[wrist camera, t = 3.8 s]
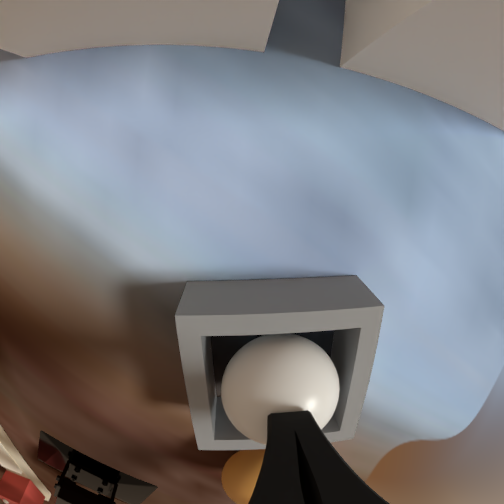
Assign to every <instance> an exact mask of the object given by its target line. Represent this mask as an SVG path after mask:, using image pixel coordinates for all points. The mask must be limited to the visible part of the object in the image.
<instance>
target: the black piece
mask: <svg viewBox="0 0 504 504" xmlns="http://www.w3.org/2000/svg"><path fill="white" fill-rule="evenodd" d="M38 460H40V461H42V462H43V463H45V464H47V465H48V466H50V467H52V468H53V469H55V470H57V471H59V472H61V473H62V474H61V476H59V475H58V476H57V478H56V480H57V481H58V484H55V486H54V488H55V489H56V490H55V494H54V496H55V497H56V501H55V504H116V503H115V502H114V498H115V499H117V500H120V501H122V502H125V503H127V504H140V503H142V502H143V501H144V500H145V499H146V498H147V497H148V496H149V495H150V494H151V493H152V492H153V491H154V490H156V489H157V488H158V487H157V486H155V485H152V484H150V483H147V482H144V481H142V480H139V479H137V478H134V477H132V476H129V475H127V474H125V473H122V472H120V471H118V470H115V469H113V468H111V467H109V466H107V465H104V464H102V463H100V462H98V461H96V460H94V459H92V458H90V457H88V456H86V455H84V454H82V453H80V452H78V451H76V450H75V449H73V448H71V447H69V446H67V445H65V444H64V443H62V442H60V441H58V440H57V439H55V438H53V437H52V436H50V435H48V434H47V433H45V432H43V431H41V432H40V440H39V448H38ZM66 476H67V477H69V478H70V479H71V480H70V479H68V478H66ZM74 481H75V482H74ZM76 482H78V483H80V484H82V485H84V486H86V487H88V488H91V489H93V490H95V491H97V493H99V494H98V495H97V494H94V493H92V492H90V491H88V490H86V489H84V488H82V487H80V486H78V485H76ZM101 494H104V495H106V496H103V495H101Z"/></svg>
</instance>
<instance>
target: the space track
mask: <svg viewBox="0 0 504 504" xmlns="http://www.w3.org/2000/svg"><path fill="white" fill-rule="evenodd" d="M0 465H1V466H3V467H5V468H6V471H5V473H4V475H3V477H2V479H1V481H0V499H1V500H2V501H3V502H4V503H5V504H43V501H44V500H47V501H49V499H50V496H51V493H50V492H49V491H48V490H47V489H46V487H45V486H44V485H43V484H42V483H41V481H40V480H39V479H38V478H37V476H36V475H35V474H34V472H33V471H32V470H31V469H30V467H29V466H28V465H27V463H26V462H25V461H24V459H23V458H22V456H21V455H20V454H19V452H18V451H17V449H16V448H15V446H14V445H13V444H12V442H11V441H10V439H9V438H8V436H7V434H6V433H5V431H4V430H3V428H2V427H1V425H0Z"/></svg>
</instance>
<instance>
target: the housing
mask: <svg viewBox="0 0 504 504" xmlns="http://www.w3.org/2000/svg"><path fill="white" fill-rule="evenodd" d="M383 310H384V305H383V304H382V303H381V302H380V300H379V299H378V298H377V297H376V296H375V295H374V294H373V293H372V292H371V291H370V289H369V288H368V287H367V286H366V285H365V284H364V283H363V282H362V281H361V280H360V279H359V278H358V276H357V275H356V276H336V277H314V278H289V279H261V280H227V281H187V283H186V286H185V289H184V291H183V294H182V297H181V300H180V302H179V305H178V308H177V311H176V313H175V321H176V328H177V336H178V342H179V349H180V355H181V362H182V368H183V374H184V380H185V385H186V391H187V397H188V402H189V407H190V412H191V417H192V422H193V427H194V432H195V437H196V441H197V446H198V450H256V449H266V445H264V444H261V443H258V442H255V441H253V440H251V439H249V438H248V437H246V436H244V435H243V434H242V433H241V432H240V431H238V430H237V429H236V428H235V426H234V425H233V424H232V423H231V421H230V420H229V418H228V416H227V414H226V412H225V410H224V407H223V403H222V398H221V397H217V394H216V385H215V375H214V366H213V355H212V345H211V336H236V335H265V334H285V333H301V332H316V331H329V330H334V334H333V342H332V350H331V358H330V359H331V360H332V362H333V364H334V366H335V368H336V371H337V374H338V378H339V388H340V390H339V399H338V403H337V406H336V409H335V411H334V413H333V415H332V417H331V419H330V420H329V422H328V423H327V424H326V425H325V426H324V427H323V429H322V432H323V433H324V435H325V436H326V438H327V439H328V440H329V442H336V441H342V440H348V439H353V438H354V435H355V431H356V428H357V425H358V421H359V418H360V414H361V411H362V407H363V403H364V399H365V396H366V392H367V388H368V384H369V379H370V375H371V371H372V367H373V362H374V357H375V353H376V348H377V343H378V338H379V333H380V327H381V322H382V316H383Z"/></svg>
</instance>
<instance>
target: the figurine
mask: <svg viewBox="0 0 504 504" xmlns="http://www.w3.org/2000/svg"><path fill="white" fill-rule="evenodd" d="M264 453H265V449H256V450H240V451H238V452H237V453H235V454H234V455H232V456H231V457H230V458H229V459H228V461H227V462H226V464H225V466H224V468H223V471H222V485H223V488H224V490H225V492H226V494H227V495H228V496H229V497H230V499H232V500H233V501H234V502H235V503H237V504H248V503H249V501H250V498H251V496H252V493H253V490H254V488H255V485H256V482H257V479H258V476H259V473H260V469H261V466H262V462H263V458H264Z"/></svg>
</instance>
